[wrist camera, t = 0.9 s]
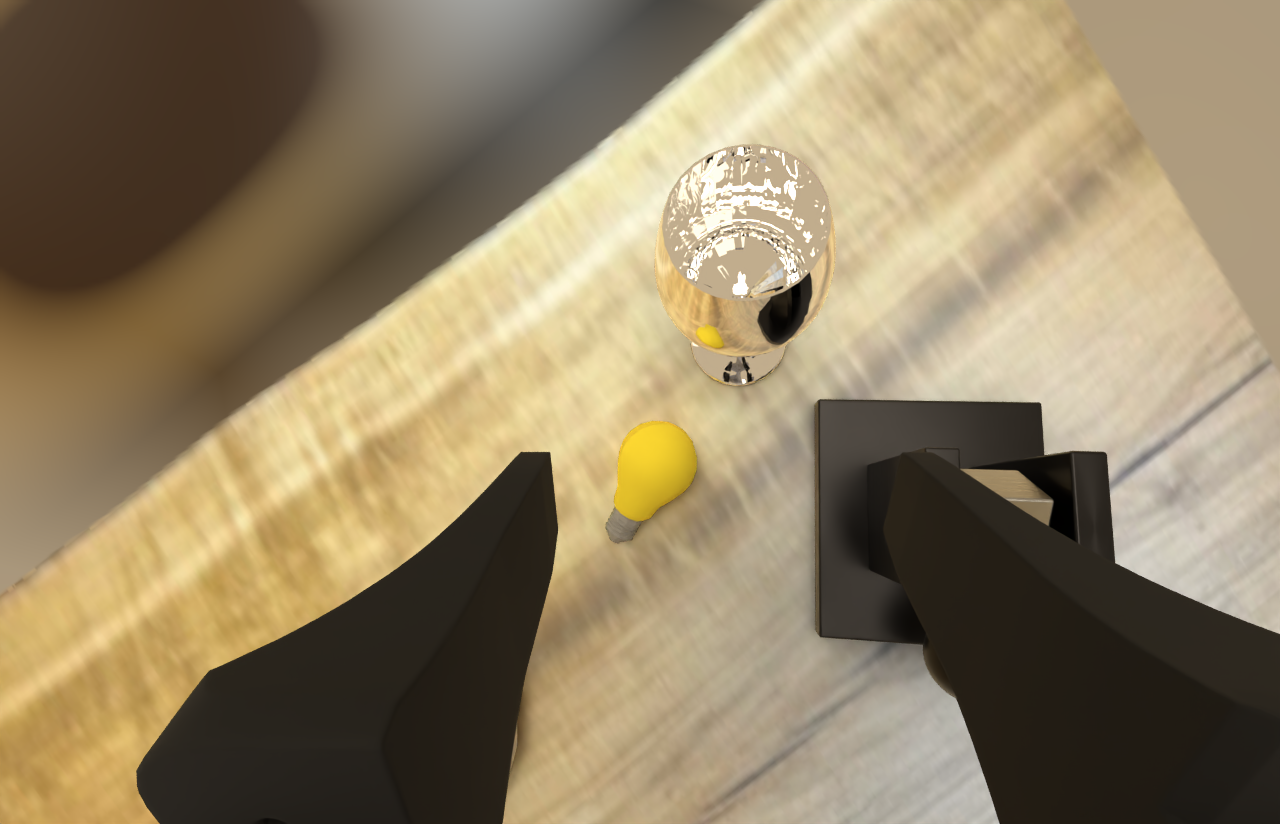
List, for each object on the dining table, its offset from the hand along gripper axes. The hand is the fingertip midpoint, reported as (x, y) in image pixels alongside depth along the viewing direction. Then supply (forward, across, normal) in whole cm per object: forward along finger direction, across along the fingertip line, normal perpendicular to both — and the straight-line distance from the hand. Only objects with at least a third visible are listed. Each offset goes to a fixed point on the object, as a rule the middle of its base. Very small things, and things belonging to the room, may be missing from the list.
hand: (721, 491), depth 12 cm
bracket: (+10, -10, +9) cm, 17 cm away
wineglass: (+16, -3, +4) cm, 17 cm away
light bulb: (+13, +2, +9) cm, 16 cm away
